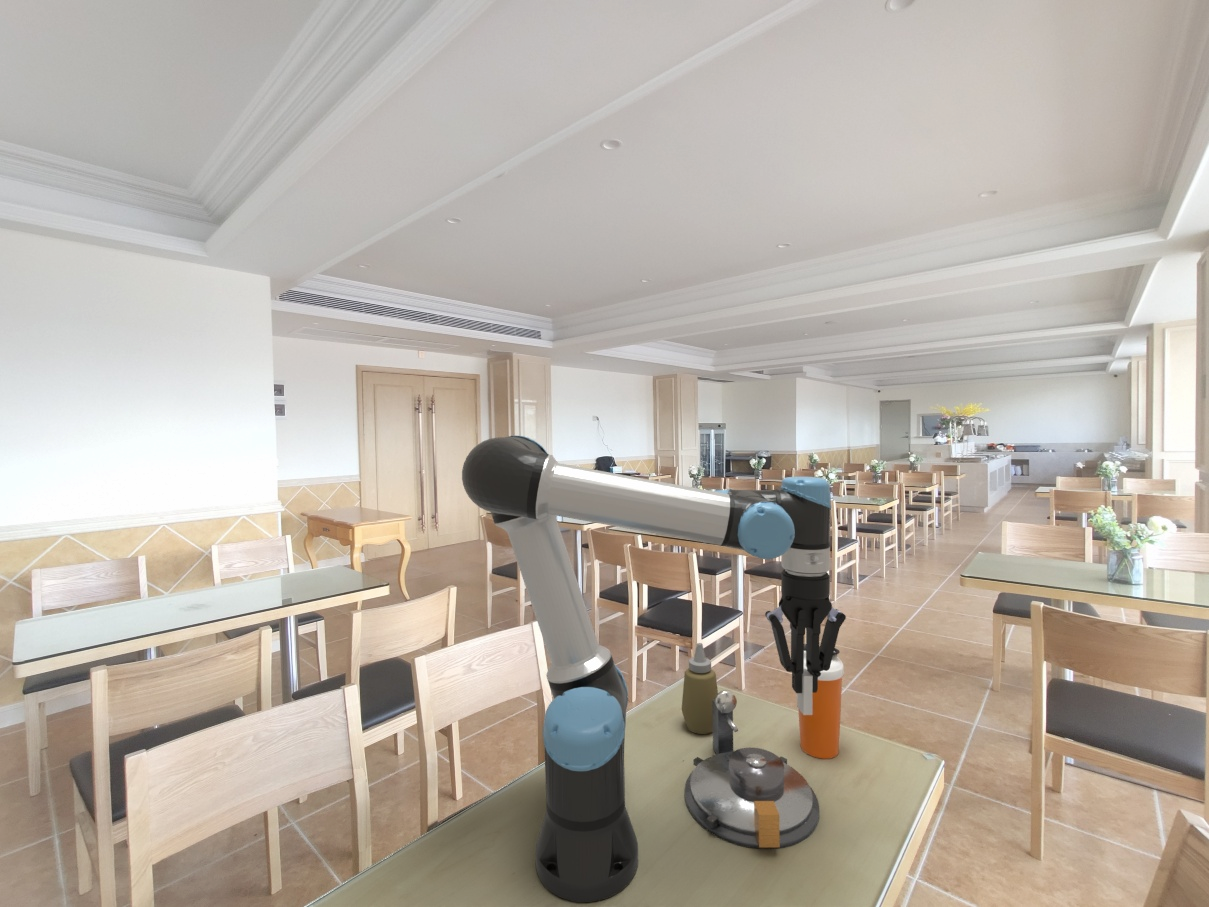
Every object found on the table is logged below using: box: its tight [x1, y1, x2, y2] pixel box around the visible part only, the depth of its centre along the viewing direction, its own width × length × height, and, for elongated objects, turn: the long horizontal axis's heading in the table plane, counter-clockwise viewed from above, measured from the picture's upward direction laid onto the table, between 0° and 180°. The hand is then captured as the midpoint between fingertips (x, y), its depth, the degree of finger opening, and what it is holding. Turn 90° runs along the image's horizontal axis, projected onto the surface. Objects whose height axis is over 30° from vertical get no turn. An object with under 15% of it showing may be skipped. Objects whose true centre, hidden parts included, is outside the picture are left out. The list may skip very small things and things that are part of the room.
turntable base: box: [684, 769, 820, 850], centre depth 94 cm, size 22×22×1 cm
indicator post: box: [712, 689, 739, 755], centre depth 106 cm, size 4×8×13 cm, turn 10°
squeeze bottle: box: [681, 642, 719, 735], centre depth 117 cm, size 8×8×18 cm
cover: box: [729, 747, 784, 802], centre depth 94 cm, size 9×9×5 cm
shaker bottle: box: [797, 643, 845, 760], centre depth 108 cm, size 9×9×20 cm
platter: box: [690, 751, 813, 847], centre depth 93 cm, size 20×22×5 cm
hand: (804, 710), depth 92 cm, fingers closed
